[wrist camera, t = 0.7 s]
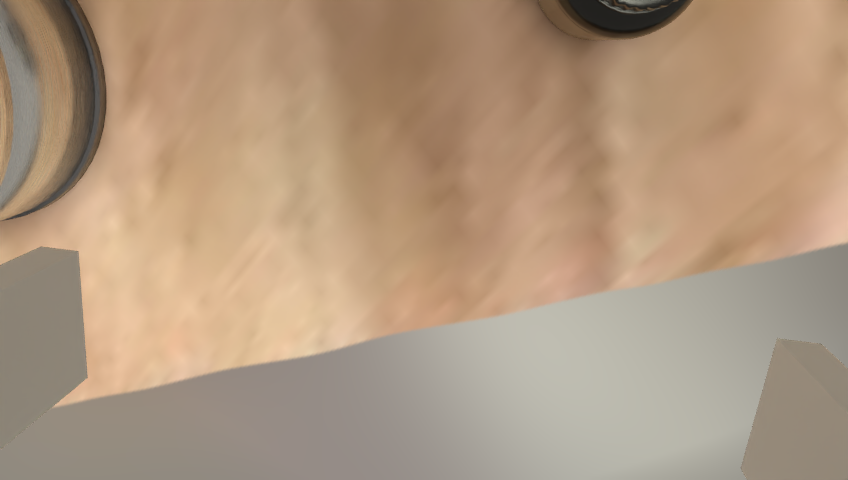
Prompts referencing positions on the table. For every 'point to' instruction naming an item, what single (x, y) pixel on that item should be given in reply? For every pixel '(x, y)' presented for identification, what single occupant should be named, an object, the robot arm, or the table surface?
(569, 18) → the supplement bottle
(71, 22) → the pot
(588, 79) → the table surface
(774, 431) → the robot arm
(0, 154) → the lid
